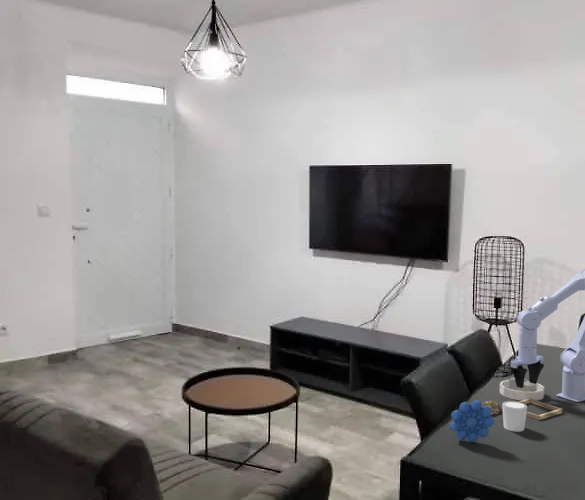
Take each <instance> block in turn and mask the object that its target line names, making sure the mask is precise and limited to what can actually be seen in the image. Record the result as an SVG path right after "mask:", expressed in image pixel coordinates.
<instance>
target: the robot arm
mask: <svg viewBox="0 0 585 500" xmlns="http://www.w3.org/2000/svg"><path fill="white" fill-rule="evenodd" d="M578 291H585V268H584V269H582V270H581V271H580V272H578V273H576V274H575V275H574V276H572V278H571V279H570V280H569V281H568V282H566V283H565V284H564V285H562V286H561V287H560V288H559V289H558V290H557V291H555V292H554V293H553V294H552V295H551V296H549V295H548V296H547V295H544V296H541V297H538V300H537V302H535V303H534V304H532V306H531V305H530V306H528V307H527V309H525V310H522V311H520V312H519V313H518V316H517V317H516V321H517V324H519V326H518V327H519V328H518V329H519V330H518V351H517V352H518V353H517V354H518V355H516V356H515V359H514V360H511V361H510V365H509V368H510V370H511V373H512V375H513V378H515V381H516V386H517V387H520V388H523V386H524V379H526V374H527V372H528V381H529V382H530V383H533V384H536V383H538V380H539V377H540V374H541V372H542V370H543V369H544V368H545V364H544V363H543V362H544V356H542V355H538V354H537V350H538V349H537V347H538V344H537V343H538V329H539V327H540V325H541V324H542V323H541V322H542V321H544V320H545V319H547V318H548V317H549V316H550V315H552V314H553V313H554V312H555V311H557V310H558V309H559V308H558V306H559V304H560V303H562V302H563V301H565V300H566V299H567V298H570V297H571V296H572V295H574V294H575V293H577V292H578ZM559 357H560V358H559V360H560V362H561V364H562V365H563V368H562V377H561V378H562V383H561V392H560V393H557V394H556V395H555V396H556V397H560V398H563V399H566V400H569V401H572V402H576V403H580V402H583V401H585V316H583V319H582V321H581V324H580V326H579V328H578V331H577V333H576V335H575V337H574V340H573V341H572V342H570V343H569V344H568V345H567V347H566V349H565V350H563V351H562V352H561V354H560V356H559ZM524 366H527V368H525V367H524Z"/></svg>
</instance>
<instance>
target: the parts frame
mask: <svg viewBox="0 0 585 500" xmlns="http://www.w3.org/2000/svg"><path fill="white" fill-rule="evenodd" d="M517 402H520V403H523V404H525V405H527V404H533V405H536V406H539V407H542V408H544V409H547V410H551V411H548V412H545V413H542V414H536V413H533V412H530V411H527V413H526V417H528V418H531V419H534V420H537V421H542V420H544V419H548V418H550V417H554V416H557V415H560V414H563V408H561V407H557V406H554V405H552V404H549V403H546V402H542V401H540V400H538V401H536V400H533V399H526V400H522V401H521V400H517Z"/></svg>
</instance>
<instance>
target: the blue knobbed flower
mask: <svg viewBox="0 0 585 500" xmlns="http://www.w3.org/2000/svg"><path fill="white" fill-rule="evenodd" d="M482 403H483V402H482V401H481V400H478V399H475V400H473V401H472V402H471V403H470V402H468V401H464V402H462V403H460V404H459V408H458V409H459V410H458V409H456V410H453V411H452V412H451V415H450V417H451V419H452V421H451V422H450V425H449V428H450V430H451V432H455V433H456V438H457V439H458V440H460V441H464V440H465V439H467V440H468V442H469V443H473V444H474V443H476V442H477V441H478V440H479V437H480V438H483V439H484V438H486V437H488V436H489V434H490V430H489V429H490V428H492V427H494V425H495V419H494V418H493V417H492V416H490V414H491V412H492V410H491V408H490V407H488V406H484V407H482Z"/></svg>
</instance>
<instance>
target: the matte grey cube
mask: <svg viewBox="0 0 585 500" xmlns="http://www.w3.org/2000/svg"><path fill="white" fill-rule="evenodd" d="M527 379H528V378H527ZM527 379H526V378H524V382H526V381H528V380H527ZM509 380H510V385H509V389H512V390H517V391H518V389H519V387H517V386H516V381H515V378H514V377H511V378H509Z"/></svg>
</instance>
